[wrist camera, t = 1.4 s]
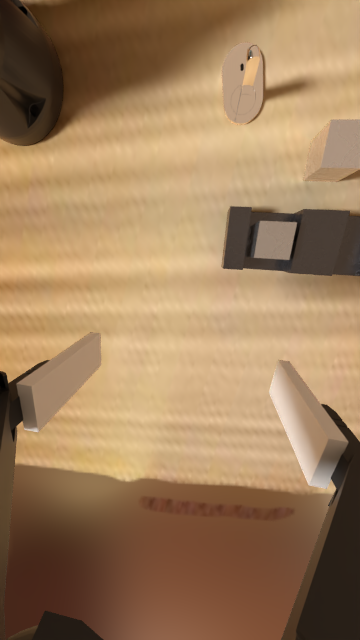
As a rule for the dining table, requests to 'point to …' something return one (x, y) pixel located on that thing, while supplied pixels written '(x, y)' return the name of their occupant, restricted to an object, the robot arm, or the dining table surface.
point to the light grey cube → (272, 240)
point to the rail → (298, 242)
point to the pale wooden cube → (334, 152)
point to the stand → (242, 83)
